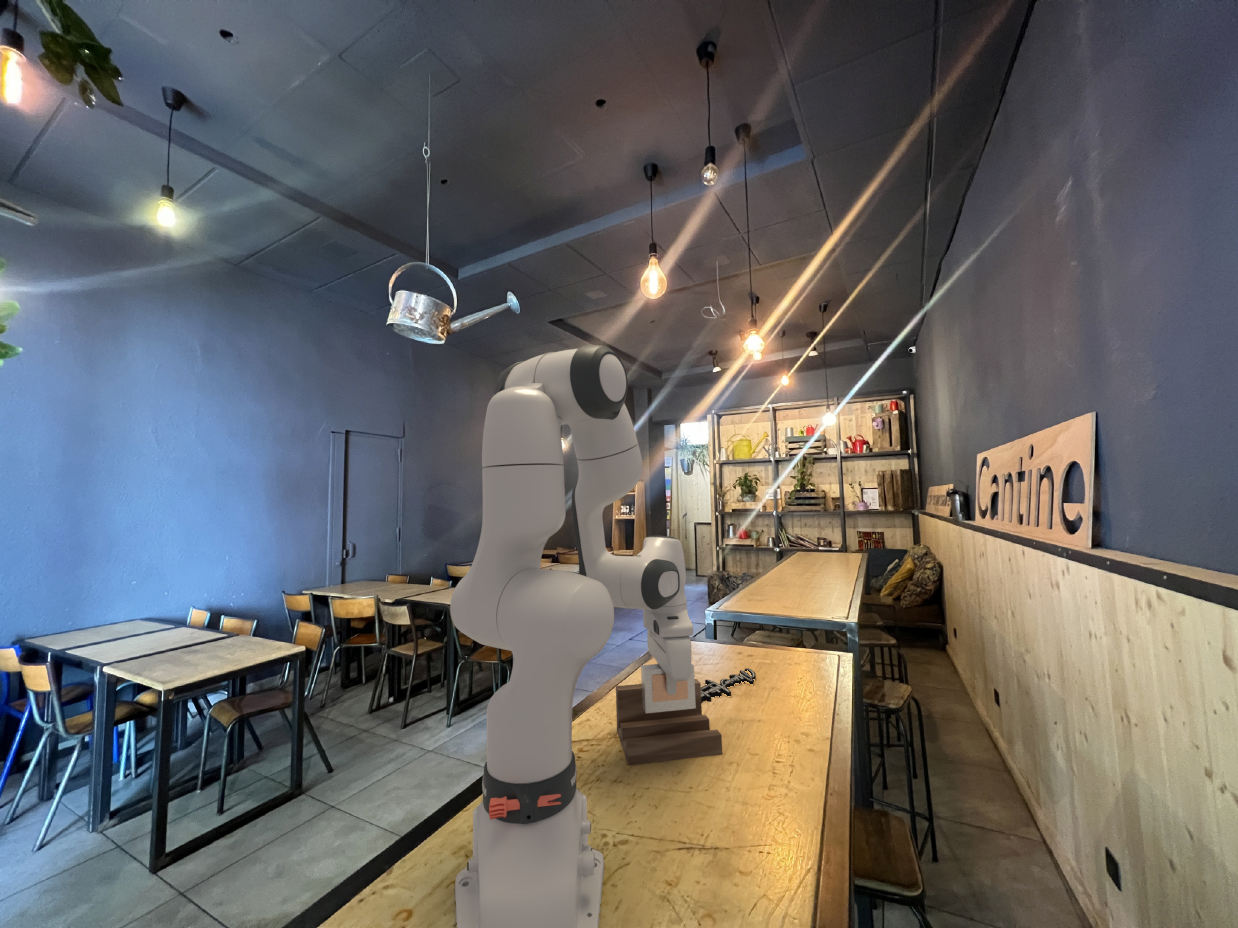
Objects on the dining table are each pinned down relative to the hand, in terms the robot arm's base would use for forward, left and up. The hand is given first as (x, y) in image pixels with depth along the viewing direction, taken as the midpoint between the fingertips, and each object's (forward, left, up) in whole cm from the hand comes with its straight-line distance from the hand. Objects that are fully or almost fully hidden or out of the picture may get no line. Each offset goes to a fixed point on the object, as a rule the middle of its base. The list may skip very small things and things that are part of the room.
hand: (667, 688), depth 94 cm
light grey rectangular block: (0, 0, -4) cm, 4 cm away
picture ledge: (+2, 0, -11) cm, 11 cm away
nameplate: (+27, -22, -12) cm, 37 cm away
